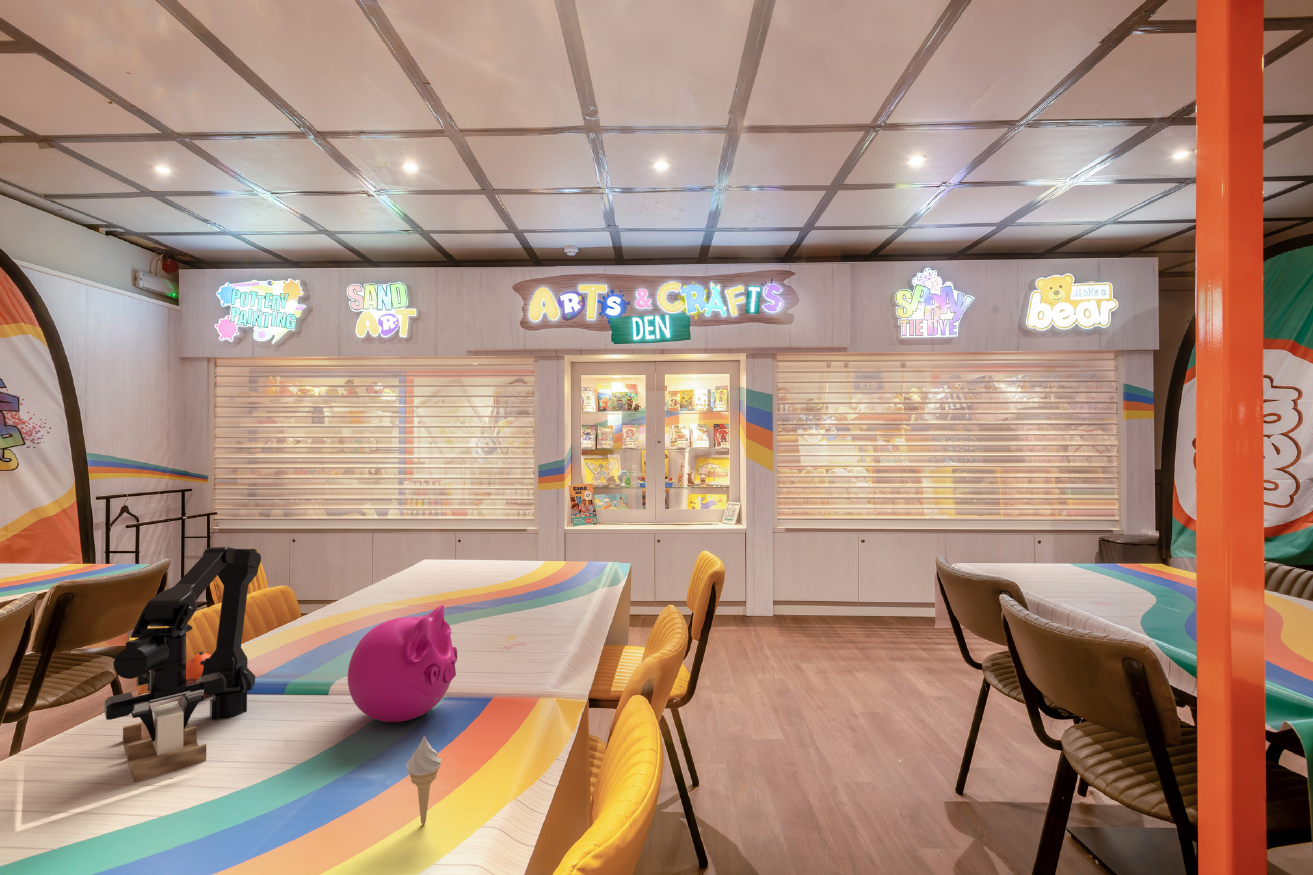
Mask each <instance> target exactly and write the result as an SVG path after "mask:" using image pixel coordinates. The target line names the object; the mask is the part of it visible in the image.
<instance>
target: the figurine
mask: <svg viewBox="0 0 1313 875" xmlns="http://www.w3.org/2000/svg"><path fill="white" fill-rule="evenodd" d="M451 635H452V628H451V626H450V624H449V623H448V622H447V621H446V620H445V605H444V604H441V605H439V606H437V607H436V608H435V609H433V610H432V612H430V613H429V614H426V615H421V616H403V617H402V616H401V617H396V618H392V619H389V620H387V621H383V622H382V623H379V624H378V625H376V626H374V627H373V628H371V629H370V630H369V631H368V632H367V633H366V634H365V635H364V636H363V637H362V638H361V639H360V640H359V641H358V643H357V645H356V646H355V648H354V650H353V652H352V655H351V657H350V660H349V664H348V670H347V686H348V691H349V694H350V697H351V698H352V701H353V703H354V704H355V706H356V708H358V710H360V712H361V713H363V714H365V715H366V716H368V717H369V718H372V719H374V720H377V721H381V722H385V723H400V722H405V721H410V720H413V719H416V718H419V717H420V716H422V715H425V714H426V713H428V712H429V711H431V710H432V709H433V708H434V707H436V706H437V704H438V703H440V702H441V700H443V697H444V696H446V695H445V694H447V691H448V690H449V687H450V685H451V682H452V680H453V679H454V678H455V677H456V676H457V672H456V663H457V661H458V649H457V646H453V641H452V637H451Z"/></svg>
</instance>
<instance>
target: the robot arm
mask: <svg viewBox="0 0 1313 875" xmlns="http://www.w3.org/2000/svg"><path fill="white" fill-rule="evenodd" d="M261 563H262V555H261V553H259V552H258V550H257V549H255V548H254V547H253V548H251V547H249V548H234V547H229V546H211V547H209V548H206V549H205V550H204V551H203V554H202V556H201V557H200V559H199V560H198V561H197V562H195V564H194V565H192V567H191V568H190V569H189V570H188V571H187V572H186V574H185V575H183V577H182V578H181V579H180V580H179V581H178V582H177V583H175V585H174V586H172V587H170V588H168V589H165V590H163V591H160V592H159V593H158V594H156V595H155V596H154V597H153V598H151V599H150V600H148V601H147V603H146V604H145V606H144V607H143V609H142V611H141V613H140V616H139V617H138V619H137V622H136V624H135V626H134V629H133V630H132V633H131V635H130V638H131V639H130V640H128V641H126V643H125V648H124V649H123V650H121V651H120V652H118V653H117V655H116V656H115V659H114V661H113V664H112V665H113V670H114V672H115V673H116V675H118V676H119V677H120V678H123V679H126V680H132V679H136V687H140V686H141V687H142V686H145V685H147V689H146V690H147V691H148V692H149V693H146V694H145V693H144V694H141V695H137V696H133V693H132V691H129V692H124V693H120V694H117V695H116V694H115V695H112V696H108V697H107V698H106V699H105V700H104V704H103V706H104V708H103V709H104V710H103V711H104V716H105V719H106V720H107V721H108V720H109V721H111V720H115V719H119V718H123V717H127V716H130V714H131V718H132V719H137V718H139V719H140V720H141V722H142V721H143V723H144V724H145V726H146V728H147V730H148V732H149V734H150V737H151V739H152V741H153V742H154V741H155V727H154V720H153V713H152V706H151V704H153V703H156V702H161V701H165V700H168V699H169V700H170V699H174V698H178V697H182V698H181V699H182V700H181V701H182V702H181V709H182V711H183V713H184V724H183V732H184V730H185V727H186V725H187V723H188V724H189V721H190V718H191V716H192V714H193V713H194V712H195V710H196V708H197V706H198V704H199V703H200V702H201V703H202V702H204V701H205V698H204V696H203V693H205V695H211V696H212V698H211V699H210V700H209V718H210V720H212V721H214V720H216V721H217V720H223V719H232V718H234V717H237V716H239V715H240V716H241V715H242V714H243V713H247V712H248V692H249V691H252V690H253V687H254V686H255V683H256V675H255V674H254V673H253V671H251V670H250V669H249V667H248V660H249V659H248V656H247V655H246V653H245V652H244V650H243V648H242V641H243V633H244V624H245V617H246V616H245V614H246V608H247V607H246V606H247V600H248V590H249V585H250V584H251V583H252V581H253V580H254V579H255V578H256V577H257V575H258V573H259V567H260V565H261ZM217 577H218V579H219V581H220V583H222V585H223V588H222V596H221V604H220V605H221V606H220V614H219V621H218V630H217V638H216V639H217V640H216V644H215V649H214V651H213V653H211V654H212V655H211V656H210V657H209V658H206V659H205V661H204V664H203V673H202V676H200V677H199V682H197V683H192V684H188V685H186V664H187V633H188V632H190V631H192V630H193V626H192V625H191V624H189V622H190V620H191V619H192V618H193V616H194V614H195V613H196V611H197V610H198V602H197V601H198V599H199V598H200V597H201V596H202V594H203V593H204V591H206V589H207V588H208V587H209V586H210V585H211V584H212V582H214V580H215V579H216V578H217Z"/></svg>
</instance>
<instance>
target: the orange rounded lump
mask: <svg viewBox="0 0 1313 875" xmlns="http://www.w3.org/2000/svg"><path fill="white" fill-rule="evenodd" d="M212 654H213V653H208V652H205V651H204V650H203V651H200V652H197V654H195V655H194V656H193V657H192V658H191V659H189V660H188V661H186V685H188V684H192V683H197V682H199V677H200V676H202V673H203V664H204V661H205V659H206V658H209V657H210V656H211V655H212ZM203 696H204V699H205V698H209V697H212V695H205V693H203Z"/></svg>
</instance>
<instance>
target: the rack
mask: <svg viewBox="0 0 1313 875" xmlns="http://www.w3.org/2000/svg"><path fill="white" fill-rule="evenodd" d="M141 722H142V721H140V722H137V723H133V724H129V725H125V726H123V727H122V744H123V747H124V750H125V755H126V757H127V761H128V766H129V768H130V772H131V777H132V781H133V783H134V784H135V783H138V782H141V781H145V780H147V779H151V778H154V777H157V776H161V775H163V774H167V773H171V772H173V771H178V770H181V769H184V768H186V767H190V766H193V765H197V764H200V763H203V762H207V744H206V743H203V744H200V745H199V743H198V742H197V733H198V732H197V730H198V729H197V728H198V727H197V726H196V725H195V726H191V727H189V722H188V723H187V725H186V727H185V730H184V732H183V748H182V749H178V750H175V751H171V752H168V753H164V754H161V755H157V753H156V750H155V748H154V745H153V742H152V739H151V738H150V739H146V740H143V741H141Z"/></svg>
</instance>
